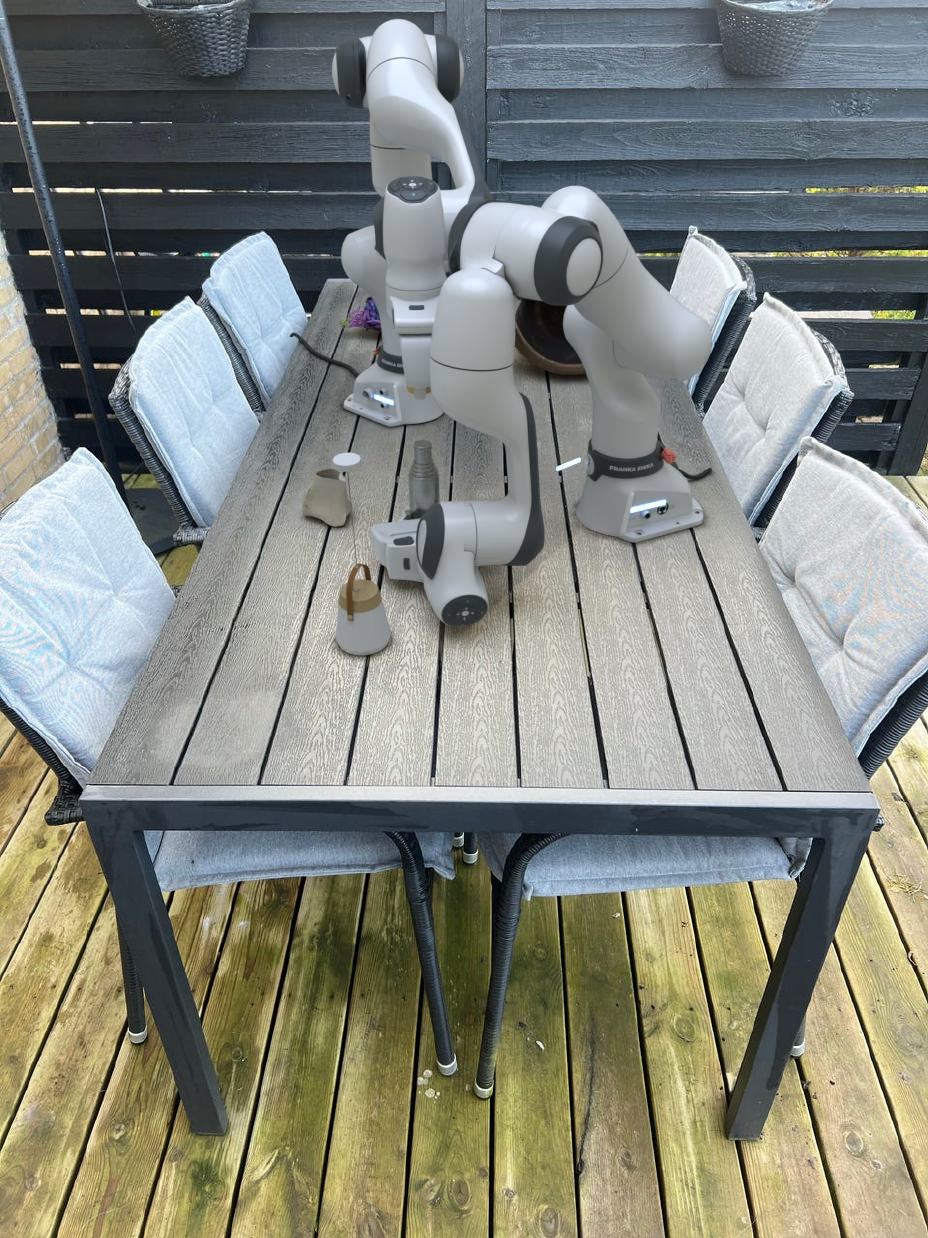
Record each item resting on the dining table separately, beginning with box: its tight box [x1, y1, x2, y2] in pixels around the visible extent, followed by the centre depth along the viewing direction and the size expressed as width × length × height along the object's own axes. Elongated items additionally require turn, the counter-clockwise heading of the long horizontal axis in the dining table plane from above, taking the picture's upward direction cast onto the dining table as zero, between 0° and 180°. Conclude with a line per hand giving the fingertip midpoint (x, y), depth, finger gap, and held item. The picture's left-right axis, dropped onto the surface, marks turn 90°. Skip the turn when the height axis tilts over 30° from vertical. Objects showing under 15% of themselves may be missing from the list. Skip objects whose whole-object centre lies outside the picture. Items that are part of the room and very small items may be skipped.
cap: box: [407, 386, 431, 394], centre depth 143 cm, size 4×4×2 cm
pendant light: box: [332, 452, 392, 656], centre depth 130 cm, size 8×8×30 cm
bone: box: [301, 468, 353, 528], centre depth 164 cm, size 9×8×10 cm
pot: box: [515, 296, 586, 376], centre depth 220 cm, size 32×32×30 cm
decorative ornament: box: [338, 295, 382, 334], centre depth 237 cm, size 13×11×30 cm
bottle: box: [407, 439, 441, 520], centre depth 155 cm, size 5×5×19 cm
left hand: (420, 390), depth 144 cm, fingers closed on cap, 4 cm apart
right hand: (423, 511), depth 158 cm, fingers closed on bottle, 5 cm apart
